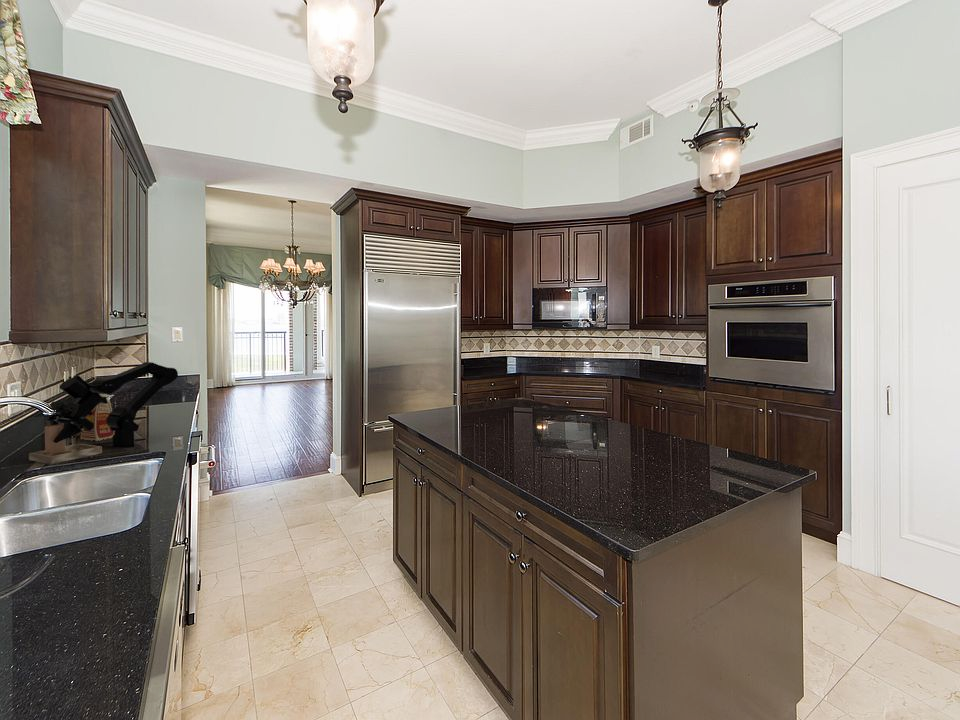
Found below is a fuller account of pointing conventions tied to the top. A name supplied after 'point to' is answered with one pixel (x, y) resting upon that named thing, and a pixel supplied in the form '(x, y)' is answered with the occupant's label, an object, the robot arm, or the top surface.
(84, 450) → the beige tray
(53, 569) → the top surface
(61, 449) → the pink rectangular block
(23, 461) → the top surface
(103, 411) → the milk carton
